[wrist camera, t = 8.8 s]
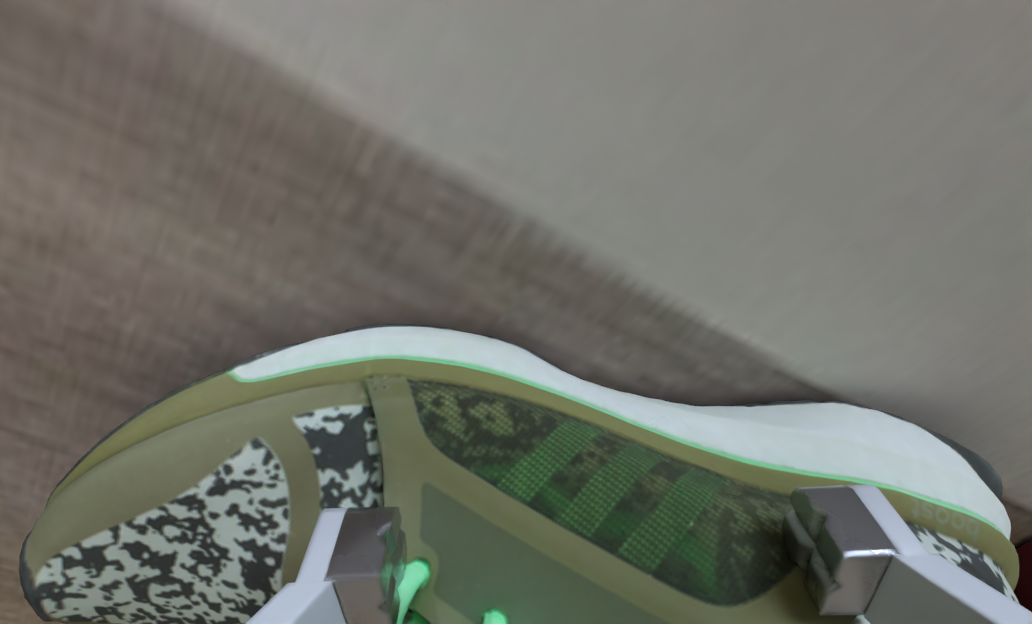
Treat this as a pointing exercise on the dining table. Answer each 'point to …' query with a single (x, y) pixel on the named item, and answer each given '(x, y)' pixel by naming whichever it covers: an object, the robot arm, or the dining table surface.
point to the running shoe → (482, 492)
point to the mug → (1024, 576)
